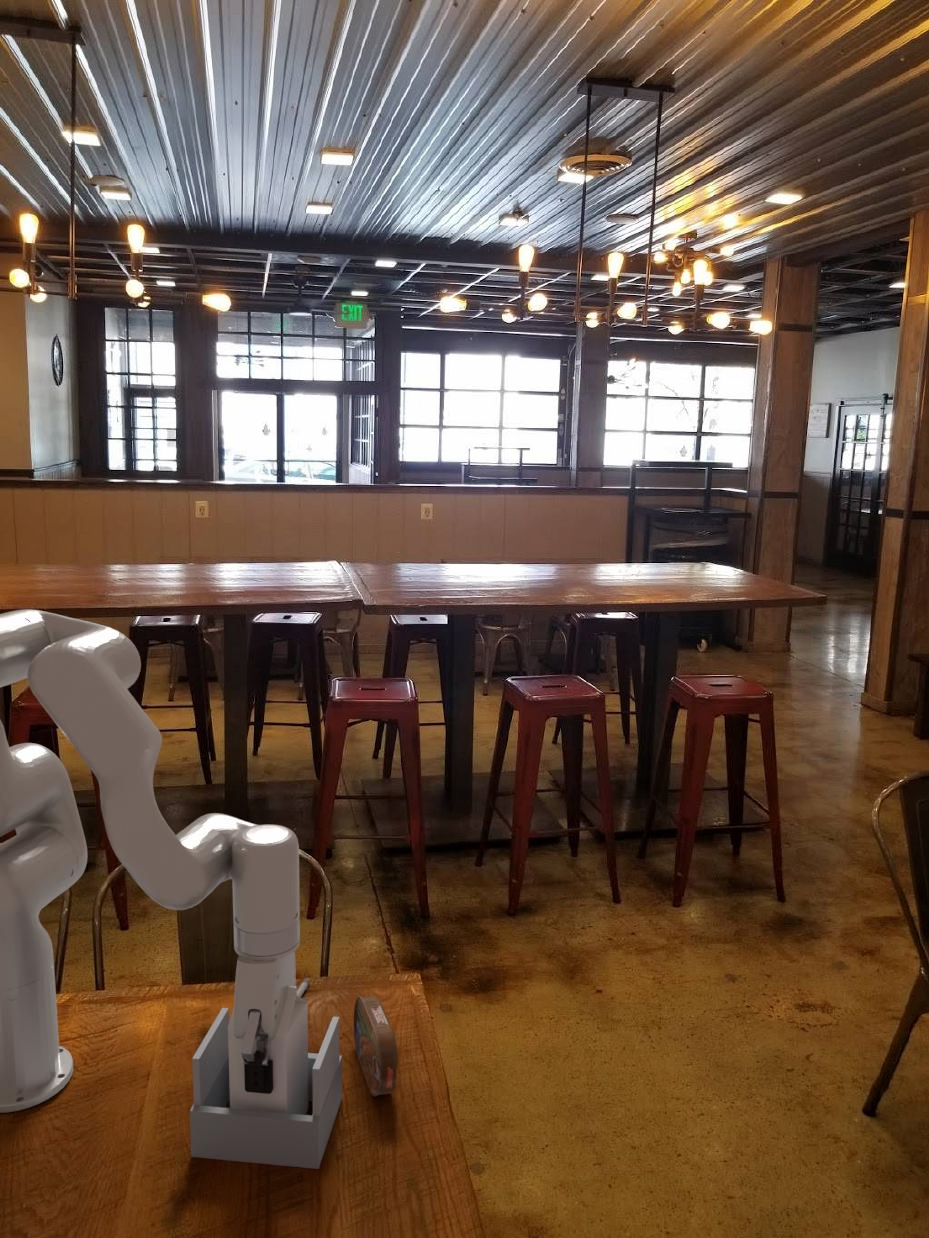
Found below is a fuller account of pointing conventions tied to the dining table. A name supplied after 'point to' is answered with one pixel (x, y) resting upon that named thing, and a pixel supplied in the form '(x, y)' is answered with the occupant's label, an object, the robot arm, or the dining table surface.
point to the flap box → (260, 1130)
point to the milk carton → (276, 1063)
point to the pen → (303, 987)
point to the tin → (375, 1045)
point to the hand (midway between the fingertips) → (269, 1067)
